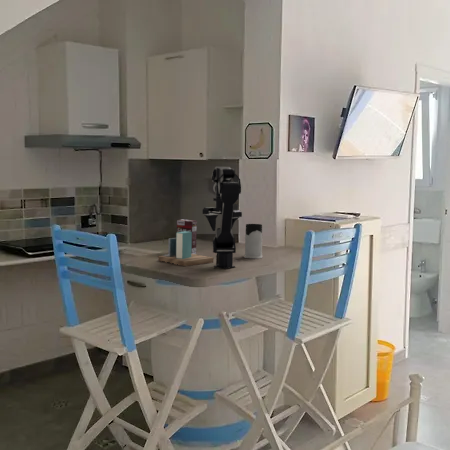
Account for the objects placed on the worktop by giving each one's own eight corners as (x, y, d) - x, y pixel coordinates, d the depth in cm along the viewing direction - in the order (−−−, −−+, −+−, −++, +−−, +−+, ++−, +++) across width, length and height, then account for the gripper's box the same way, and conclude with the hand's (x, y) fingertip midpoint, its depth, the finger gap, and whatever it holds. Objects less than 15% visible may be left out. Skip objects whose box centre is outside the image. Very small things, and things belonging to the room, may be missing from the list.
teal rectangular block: (191, 257, 259) (191, 231, 258) (182, 259, 253) (182, 233, 252) (184, 256, 260) (184, 231, 259) (175, 258, 255) (176, 232, 254)
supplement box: (175, 253, 282) (176, 220, 280) (181, 252, 286) (181, 219, 284) (191, 255, 277) (191, 221, 276) (196, 253, 282) (197, 220, 280)
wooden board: (213, 262, 258) (213, 257, 258) (185, 266, 247) (185, 261, 247) (186, 257, 271) (186, 252, 271) (158, 260, 260) (158, 256, 260)
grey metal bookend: (191, 254, 265) (191, 236, 265) (170, 257, 257) (170, 238, 256) (184, 253, 269) (184, 235, 268) (163, 255, 261) (163, 237, 260)
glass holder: (247, 258, 270) (248, 225, 268) (237, 254, 283) (237, 222, 282) (265, 258, 273) (266, 225, 271) (254, 253, 286) (254, 222, 284)
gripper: (251, 196, 255) (250, 232, 257) (219, 193, 268) (219, 228, 270) (233, 197, 247) (232, 235, 249) (201, 194, 260) (201, 230, 262)
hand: (221, 232), depth 258 cm, fingers open, 9 cm apart
